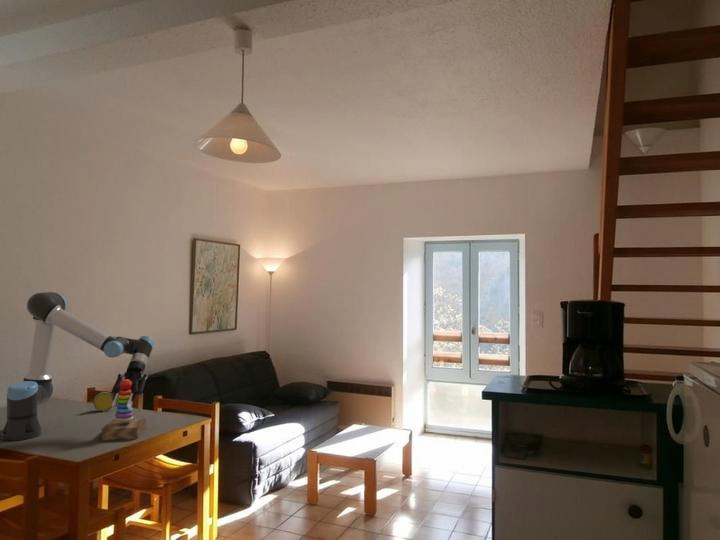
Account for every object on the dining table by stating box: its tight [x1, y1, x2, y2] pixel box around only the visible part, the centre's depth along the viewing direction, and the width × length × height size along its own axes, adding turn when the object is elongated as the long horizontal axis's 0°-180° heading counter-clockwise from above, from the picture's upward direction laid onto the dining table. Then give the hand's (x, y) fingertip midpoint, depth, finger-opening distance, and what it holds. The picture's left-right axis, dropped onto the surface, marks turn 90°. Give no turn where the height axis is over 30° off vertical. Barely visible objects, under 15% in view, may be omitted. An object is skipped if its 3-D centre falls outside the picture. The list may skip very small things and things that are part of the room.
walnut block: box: [100, 418, 147, 441], centre depth 237 cm, size 15×15×5 cm
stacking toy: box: [113, 378, 134, 423], centre depth 237 cm, size 8×8×19 cm
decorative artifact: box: [92, 391, 114, 412], centre depth 282 cm, size 10×7×10 cm
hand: (120, 407), depth 233 cm, fingers closed on stacking toy, 6 cm apart
